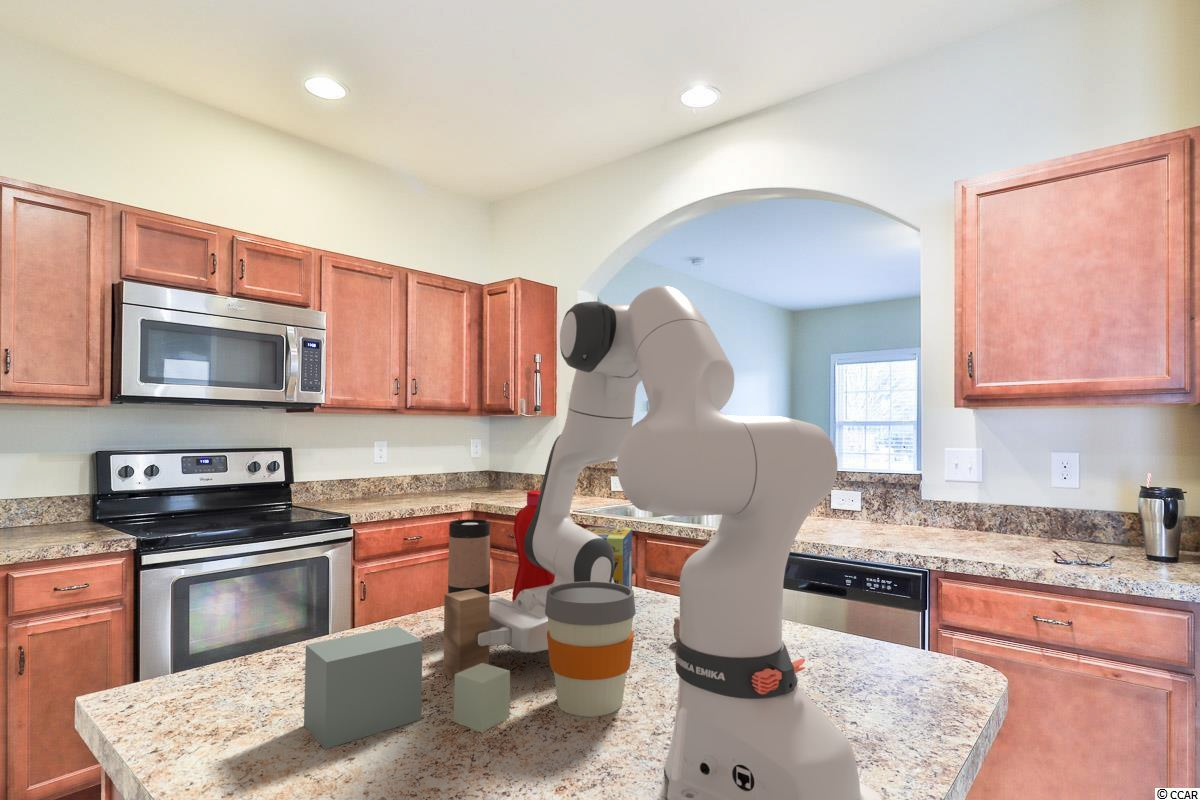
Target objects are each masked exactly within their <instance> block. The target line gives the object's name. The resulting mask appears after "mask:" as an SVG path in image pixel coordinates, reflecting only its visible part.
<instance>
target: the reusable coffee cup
mask: <svg viewBox="0 0 1200 800" xmlns="http://www.w3.org/2000/svg"><path fill="white" fill-rule="evenodd" d="M636 612H637V611H636V601H635V594H634V590H633V588H632V589H631V588H629V587H627V586H624V585H621V584H616V583H609V582H597V581H585V582H572V583H565V584H560V585H557V586H554V587H552V588H550V589H549V590H548V591H547V598H546V606H545V615H546V616H547V617H548V624H549V630H548V632H547V642H548V649H547V650H548V657H549V658H548V659H549V665H550V666H549V667H550V669H551V670H552V672H553V674H554V683H555V693H556V701H557V706H558V708H559V709H561V710H562V711H563V712H566V713H567V714H570V715H574V716H578V717H588V718H589V717H591V718H592V717H601V716H606V715H609V714H613V713H615V712H617V711H618V710H620V709H621V708H622V705H623V704H624V703H623V702H624V693H625V685H626V678H627V677H626V676H627V671H629V670H630V667H631V663H632V662H631V660H632V652H633V647H634V646H633V645H634V637H635V633H634V631H633V629H632V627H633V621H634V616H635V615H636Z"/></svg>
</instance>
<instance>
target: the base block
mask: <svg viewBox="0 0 1200 800" xmlns="http://www.w3.org/2000/svg"><path fill="white" fill-rule="evenodd" d="M304 661H305V663H304V664H305V665H304V672H305V673H304V703H303V704H304V705H303V706H304V709H303V712H304V713H303V726H304V728H305V729H307V731H308V732H309V733H310V735H312V737H314V739H315V740H316V741H317V742H318V743H319V744H320V745H321V747H322V748H323V749H324V750H327V749H331V748H334V747H337V746H340V745H344V744H346V743H350V742H352V741H356V740H359V739H362V738H366V737H368V736H373V735H376V734H378V733H381V732H384V731H385V732H386V731H388V730H392V729H395V728H398V727H402V726H405V725H407V724H411V723H415V722H417V721H420V720H421V721H422V701H423V700H422V697H423V696H422V695H423V694H422V691H423V689H422V688H423V640H422V639H420V638H419V637H417V636H415V635H414V634H411V633H410V632H408V631H406V630H405V629H403V628H401V627H399V626H391V627H386V628H380V629H376V630H371V631H367V632H362V633H357V634H352V635H347V636H342V637H338V638H332V639H327V640H324V641H323V640H322V641H318V642H313V643H308V644H305V660H304Z"/></svg>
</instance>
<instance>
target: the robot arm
mask: <svg viewBox="0 0 1200 800" xmlns="http://www.w3.org/2000/svg"><path fill="white" fill-rule="evenodd" d="M559 346H560V353H561V356H562V358H563V360H564V361H565V363H566V365H567V366H569V367H571V368H573V369H575V374H574V377H573V381H572V385H571V390H570V394H569V399H568V407H567V409H568V410H567V414H566V419H565V422H564V426H563V428H562V431H561V434H559V435H558V436H557V437H556V439H555V440H554V442H553V444H552V447H551V450H550V453H549V456H548V460H547V463H546V464H547V465H546V468H545V471H544V475H543V479H542V483H541V484H542V485H541V487H540V490H541V492H540V496H539V500H538V504H537V508H536V511H535V514H534V516H533V519H532V521H531V523H530V525H529V527H528V530H527V533H526V536H525V542H524V547H525V553H526V556H527V558H528V559H529V561H530V562H531V563H533V564H534V565H536V566H538V567H540V568H542V569H544V570H546V571H549V572H550V573H552V574H553V575H555V580H554V582H553V583H552V584H550V585H546V586H541V587H535V588H530V589H525V590H522V591H521V592H520V593H519V594H518V595H517V597H516V600H514V601H513V602H512V600H508V599H505V598H504V597H503V598H502V597H500V596H492V597H491V596H490V613H489V631H487V630H482V631H478V632H476V633H475V643H476V644H478V645H480V646H485V645H489V646H490V645H494V646H495V645H500V646H501V645H507V646H509V647H511V648H512V649H514V650H517V651H519V652H522V653H537V652H541V651H547V650H548V642H547V632H548V630H549V624H548V617H547V616H546V615H545V606H546V598H547V591H548V590H549V589H550V588H552V587H554V586H557V585H560V584H565V583H572V582H585V581H597V582H609V583H614V581H613V571H614V552H613V549H612V546H611V545H610V543H609V542H608V541H606V540H605V539H603V538H601V537H600V536H598V535H596V534H594V533H592V532H591V531H589V530H586V529H585V528H584V527H582V526H580V525H578V524H576V522H574V521H573V518H572V516H571V513H570V512H571V506H572V502H573V498H574V494H575V490H576V486H577V483H578V478H579V476H580V474H581V472H582V471H583V470H584V469H585V468H587V467H589V466H593V465H600V464H604V463H608V462H610V461H612V460H615V459H616V458H617V459H616V471H617V477H618V481H619V484H620V486H621V489H622V491H623V493H624V495H625V497H626V498H627V499H628V501H629V502H630V503H631V504H632V505H633V506H634V507H635V508H637V509H638V510H640V511H645V512H650V513H656V514H660V515H666V516H667V515H668V516H673V517H678V518H679V517H682V518H683V517H698V516H700V517H702V516H721V519H720V523H719V525H718V528H717V529H716V532H715V533H714V535H713V537H712V538H711V539H710V540H709V541H708V542H707V543H706V544H705V545H704V546H702V547H701V548H699V549H698V550H697V551H695V552H693V553H692V554H691V555H690V556H689V557H688V558H687V560H685V562H684V565H683V567H682V569H681V570H680V571H681V572H680V574H679V617H680V635H679V636H678V637H677V639H676V640H675V642H676V643H675V654H674V659H675V672H676V674H677V675H678V687H677V700H676V708H675V717H674V725H673V731H672V736H671V737H672V738H671V742H670V747H669V750H668V753H667V755H666V756H667V757H666V759H665V763H664V770H665V774H666V776H667V779H668V781H669V782H668V785H667V793H666V796H667V797H666V798H667V800H883V799H884V798H883V795H882V794H881V793H880V792H879V791H876V790H875V789H873V788H872V787H870V786H868V785H867V784H865V783H863V782H861V781H860V777H859V769H858V766H857V759H856V755H855V752H854V748H853V746H852V743H851V742H850V739H848V737H847V735H845V733H844V732H843V731H841V729H840V728H839V727H837V725H836V724H835V723H834V722H832V720H831V719H830V718H829V717H828V716H827V715H826V714H825V713H824V712H823V711H822V710H821V708H819V706H818V705H817V704H816V703H815V702H814V701H813V700H812V699H811V698H810V696H809V695H808V694H807V693H806V692H805V691H804V690H803V689H802V688H801V687H800V686H799V684H798V682H799V680H798V678H797V675H796V673H797V674H798V673H799V672H801V671H804V670H805V669H806V667H805V666H803V664H804V663H805V661H806V659H805V658H802V657H801V658H800V659H797V660H795V661H792V660H791V659H792V658H791V657H790V655H789V651H788V648H787V646H786V644H785V642H784V641H783V600H784V599H783V598H784V582H785V572H786V566H787V564H788V559H789V556H790V554H791V550H792V548H793V545H794V542H795V540H796V537H797V535H798V533H799V531H800V529H801V527H802V526H803V524H804V522H805V520H806V519H807V518H808V516H809V515H810V514H811V513H812V512H813V510H814V509H815V508H816V507H817V506H818V505H819V504H820V503H821V502H822V501H824V500H825V499H826V498H827V497H828V496H829V494H830V493H831V492H832V489H833V488H834V486H835V482H836V480H837V474H838V457H837V453H836V449H835V447H834V443H833V442H832V439H831V438H830V437H829V435H828V434H827V433H826V432H825V430H824V429H823V428H822V427H820V426H818V425H817V424H813V423H811V422H807V421H803V420H799V419H795V418H791V417H785V416H781V415H732V414H726V413H723V412H721V410H722V409H723V408H724V407H725V406H726V405H727V403H728V402H729V400H730V399H731V396H732V394H733V391H734V389H735V388H734V387H735V372H734V367H733V366H732V364H731V362H730V361H729V359H728V357H727V355H726V353H725V352H724V349H723V348H722V346H721V344H720V342H719V341H718V339H717V337H716V335H715V333H714V331H713V330H712V329H711V326H710V325H709V323H708V321H707V320H706V319H705V317H704V316H703V314H702V313H701V312H700V310H698V308H697V307H696V306H695V304H694V303H692V301H691V300H690V299H689V298H688V297H687V296H686V295H685V294H684V293H682V292H681V291H680V290H679V289H676V288H674V287H671V286H667V285H662V286H661V285H658V286H653V287H650V288H647V289H645V290H643V291H641V292H640V293H639V294H637V295H636V297H634V299H633V300H632V301H631V303H630V304H627V303H626V304H625V303H623V304H622V303H602V302H601V301H595V300H594V301H585V302H579V303H575V304H573V306H571V307H570V308H569V310H567V311H566V312H565V314H564V317H563V320H562V324H561V326H560V330H559ZM641 382H642V384H643V388H644V392H645V394H646V398H647V401H648V411H647V413H646V415H645V416H644V417H643V418H642V419H641V420H639V421H637V422H636V423H635V424H634V415H635V405H636V393H637V387H638V385H639V384H640V383H641ZM800 666H801V667H800Z"/></svg>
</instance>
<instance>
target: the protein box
mask: <svg viewBox="0 0 1200 800" xmlns="http://www.w3.org/2000/svg"><path fill="white" fill-rule="evenodd" d="M584 529H586V530H589V531H591V532H592V533H594V534H596V535H598V536H600V537H601V538H603V539H605V540H606V541H608V542H609V543H610V545H611V546H612V549H613V552H614V571H613V581H614V583H616V584H621V585H624V586H627V587H629V588H631V589H632V590H633V528H632V527H618V526H617V527H613V526H612V527H611V526H594V525H591V526H590V525H589V526H587V527H585V528H584Z"/></svg>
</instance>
